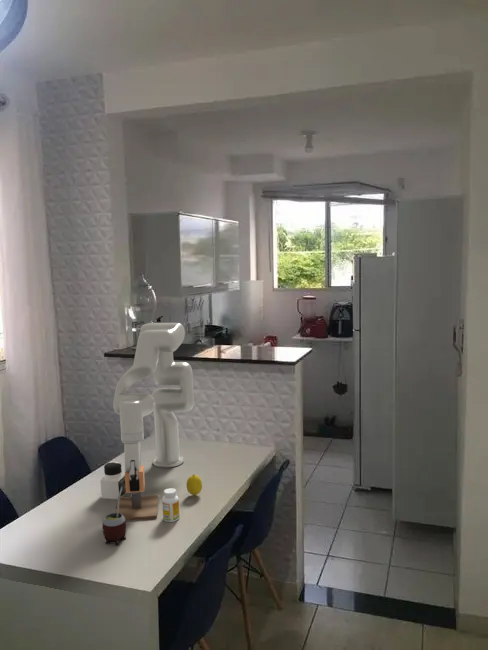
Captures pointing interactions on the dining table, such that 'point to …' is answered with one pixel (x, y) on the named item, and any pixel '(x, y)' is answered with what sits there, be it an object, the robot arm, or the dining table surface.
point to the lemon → (194, 484)
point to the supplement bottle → (170, 505)
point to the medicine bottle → (112, 481)
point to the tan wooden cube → (140, 476)
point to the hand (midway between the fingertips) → (135, 486)
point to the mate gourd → (114, 526)
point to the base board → (145, 512)
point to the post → (136, 500)
